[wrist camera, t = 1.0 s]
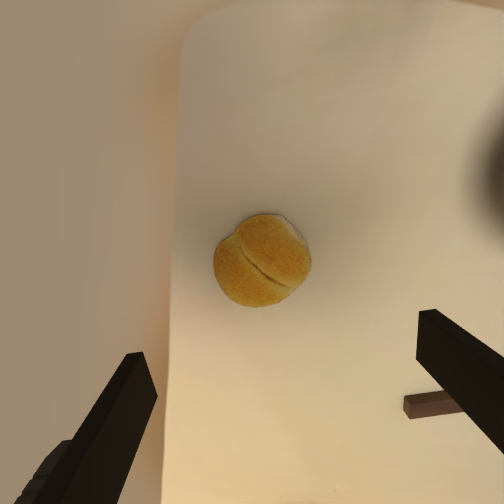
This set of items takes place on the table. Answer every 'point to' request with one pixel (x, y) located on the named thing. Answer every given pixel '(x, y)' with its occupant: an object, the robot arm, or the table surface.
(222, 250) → the bread roll
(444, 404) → the wooden spoon
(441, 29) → the table surface
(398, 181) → the table surface
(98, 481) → the robot arm
